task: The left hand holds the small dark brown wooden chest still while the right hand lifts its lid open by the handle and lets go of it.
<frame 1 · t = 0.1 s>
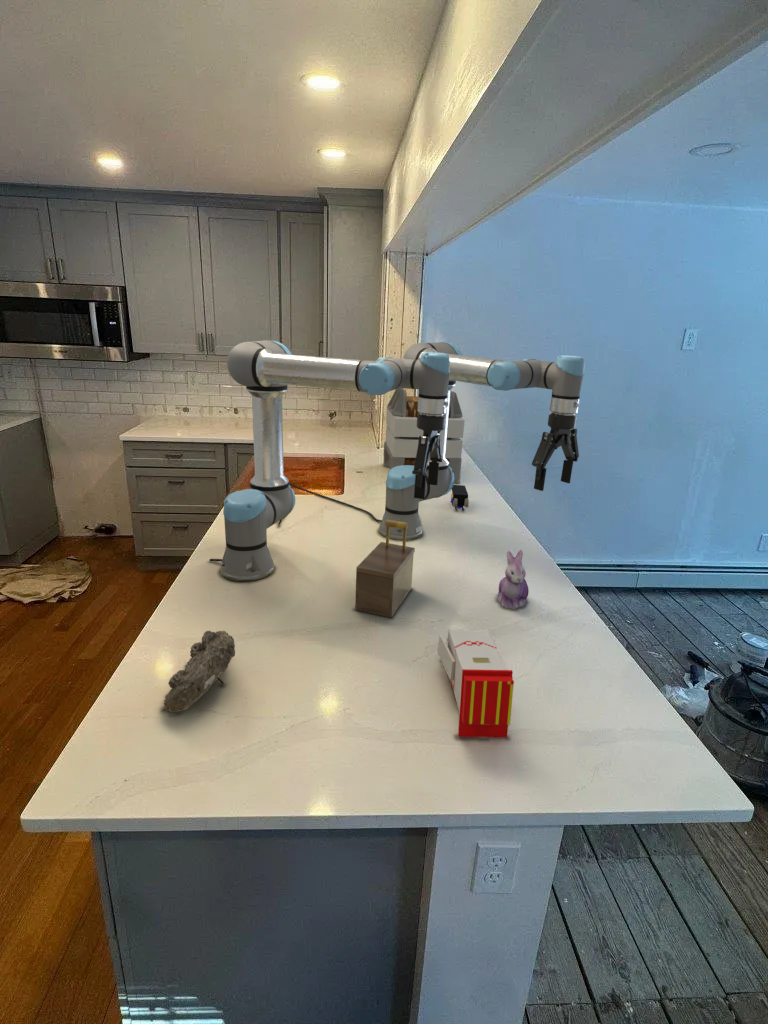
left hand: (426, 491, 155), 28 cm above the counter, tool pointing down, fingers open, 13 cm apart
right hand: (552, 485, 166), 28 cm above the counter, tool pointing down, fingers open, 13 cm apart
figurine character: (458, 507, 230), on the counter
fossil: (205, 682, 118), on the counter
toy: (469, 691, 119), on the counter
figurine: (512, 602, 156), on the counter
lid: (387, 545, 150), point 16 cm above the counter, hinge at 0.0°
chest: (384, 598, 155), on the counter
feather: (285, 514, 213), on the counter
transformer: (419, 473, 275), on the counter
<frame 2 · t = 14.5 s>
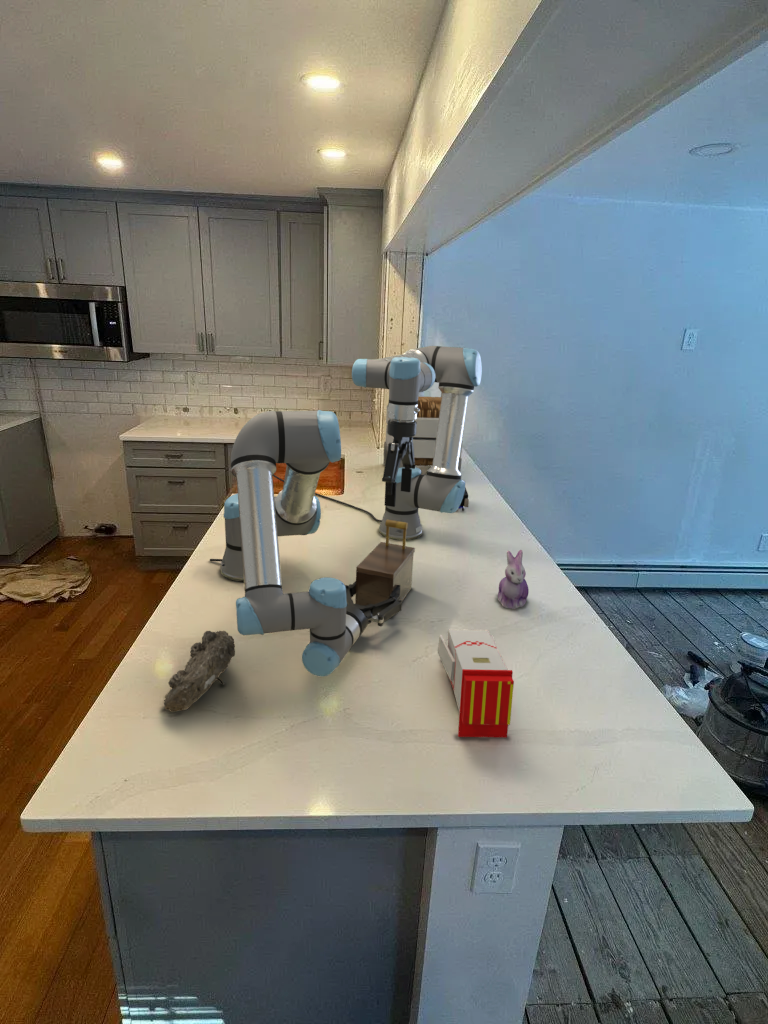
left hand: (379, 585, 149), 6 cm above the counter, tool horizontal, fingers closed on chest, 10 cm apart
right hand: (398, 498, 153), 27 cm above the counter, tool pointing down, fingers open, 13 cm apart
chest: (384, 598, 155), on the counter, touching left hand
everything else where it was.
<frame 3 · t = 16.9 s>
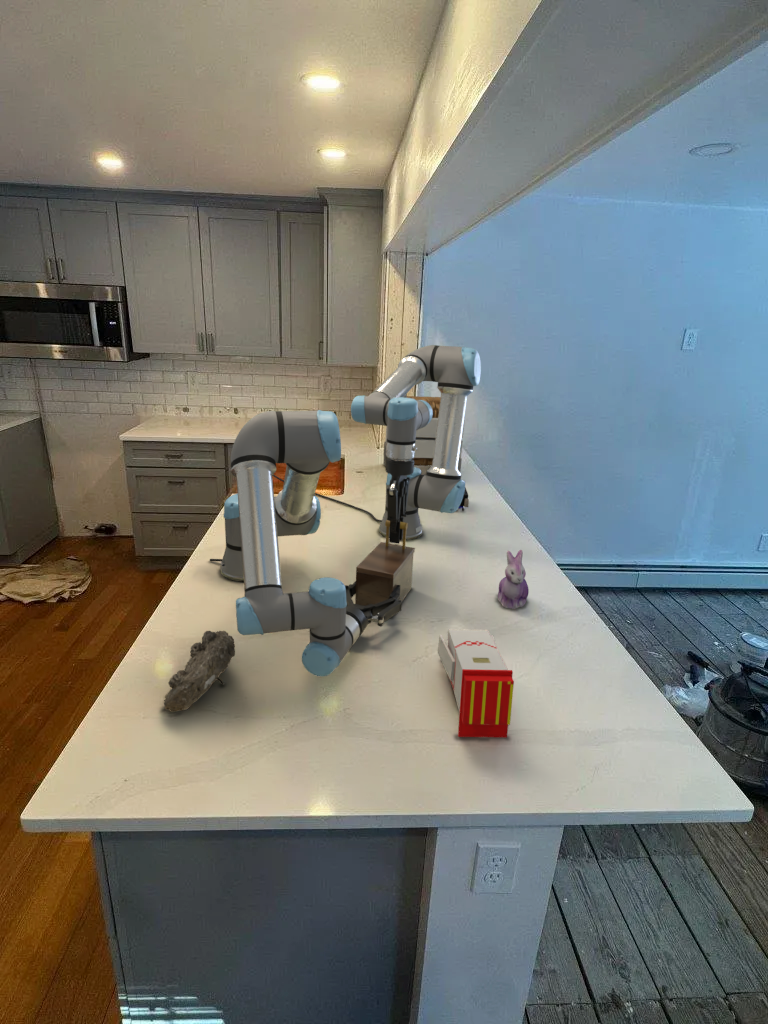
left hand: (379, 585, 149), 6 cm above the counter, tool horizontal, fingers closed on chest, 10 cm apart
right hand: (395, 540, 157), 14 cm above the counter, tool pointing down, fingers closed on lid, 2 cm apart
lid: (387, 545, 150), point 16 cm above the counter, hinge at -0.1°, touching right hand
chest: (384, 598, 155), on the counter, touching left hand
everything else where it was.
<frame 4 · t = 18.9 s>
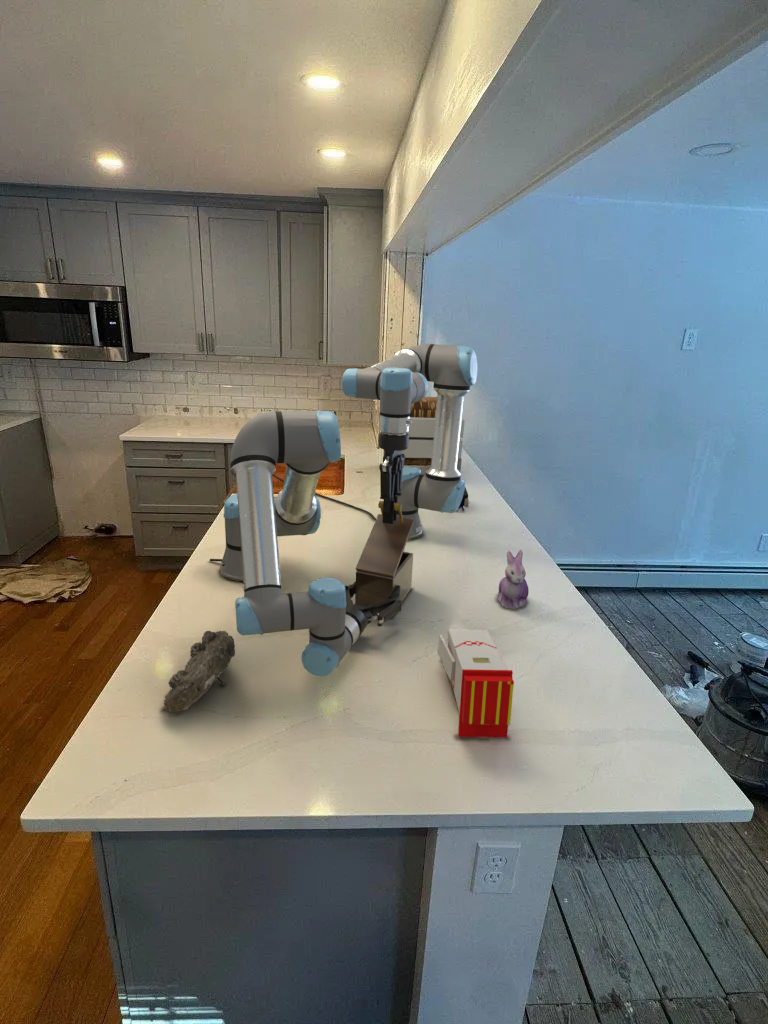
left hand: (379, 586, 148), 6 cm above the counter, tool horizontal, fingers closed on chest, 10 cm apart
right hand: (389, 521, 148), 22 cm above the counter, tool pointing down, fingers closed on lid, 2 cm apart
lid: (383, 535, 145), point 20 cm above the counter, hinge at 31.1°, touching right hand
chest: (384, 599, 155), on the counter, touching left hand
everything else where it was.
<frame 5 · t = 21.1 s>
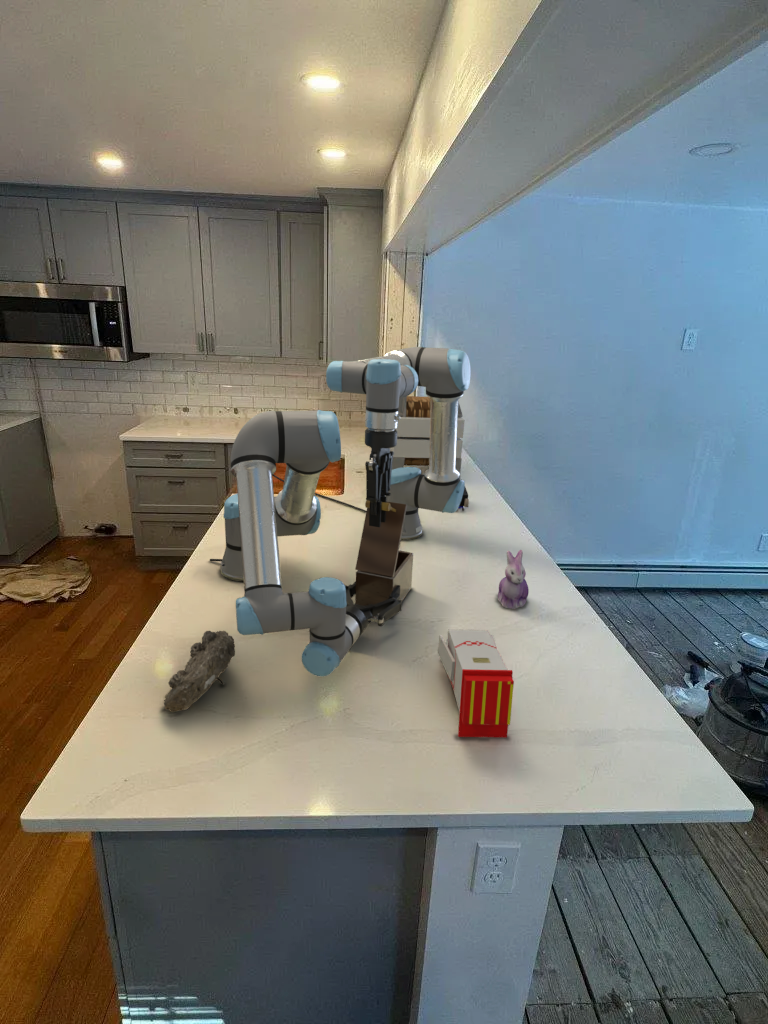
left hand: (379, 586, 149), 6 cm above the counter, tool horizontal, fingers closed on chest, 10 cm apart
right hand: (377, 523, 139), 25 cm above the counter, tool pointing down, fingers open, 3 cm apart
lid: (376, 535, 140), point 22 cm above the counter, hinge at 63.6°
chest: (384, 598, 155), on the counter, touching left hand
everything else where it was.
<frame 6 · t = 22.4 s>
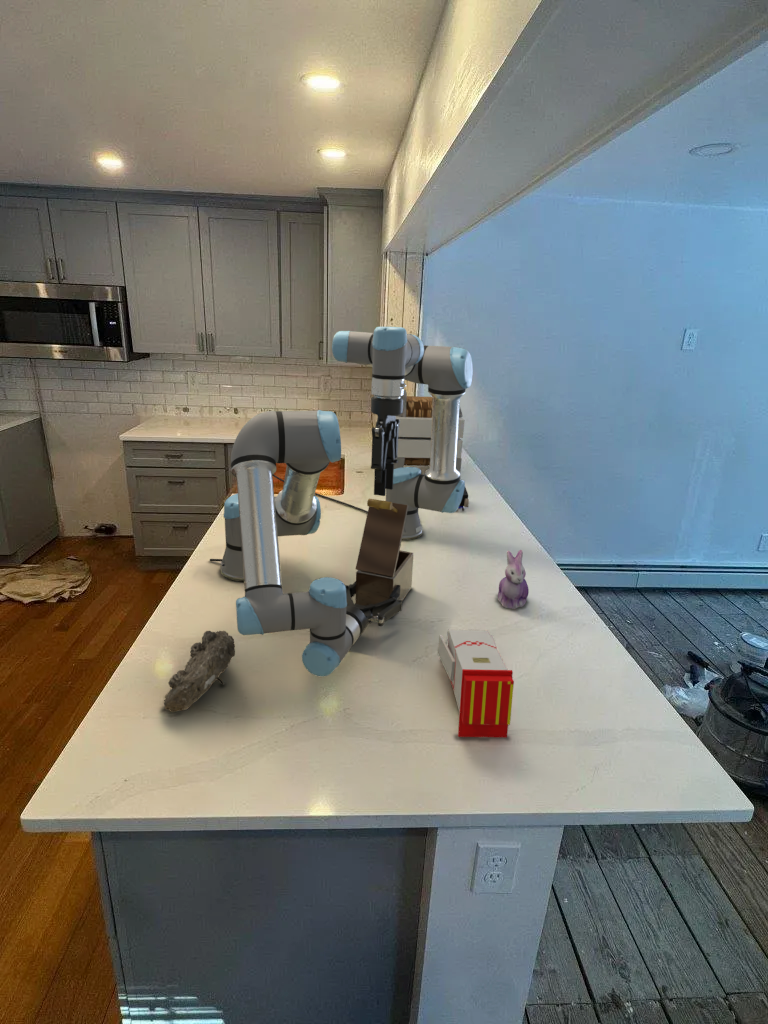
left hand: (379, 585, 149), 6 cm above the counter, tool horizontal, fingers closed on chest, 10 cm apart
right hand: (383, 491, 140), 32 cm above the counter, tool pointing down, fingers open, 5 cm apart
lid: (377, 535, 141), point 22 cm above the counter, hinge at 59.9°
chest: (384, 598, 155), on the counter, touching left hand
everything else where it was.
when the left hand's fingers open (6 cm above the counter, at t = 25.0 s): chest stays where it is, on the counter.
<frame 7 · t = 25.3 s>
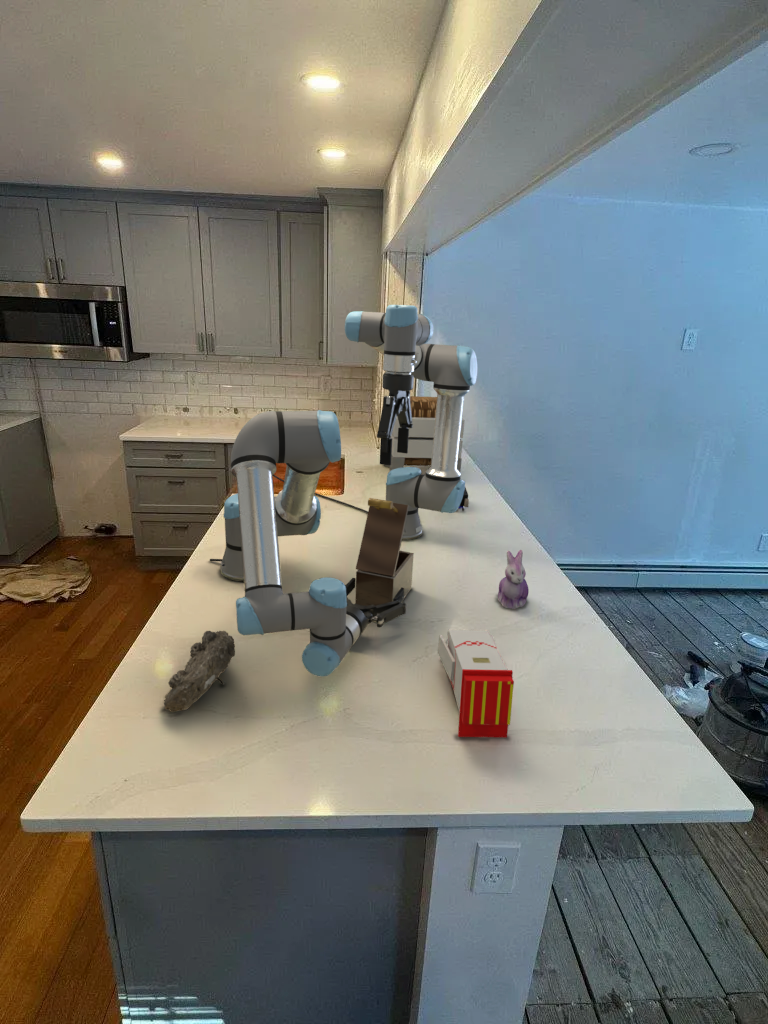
left hand: (377, 587, 148), 6 cm above the counter, tool horizontal, fingers open, 13 cm apart
right hand: (394, 458, 144), 39 cm above the counter, tool pointing down, fingers open, 13 cm apart
lid: (378, 534, 141), point 22 cm above the counter, hinge at 59.3°
chest: (384, 598, 155), on the counter
everything else where it was.
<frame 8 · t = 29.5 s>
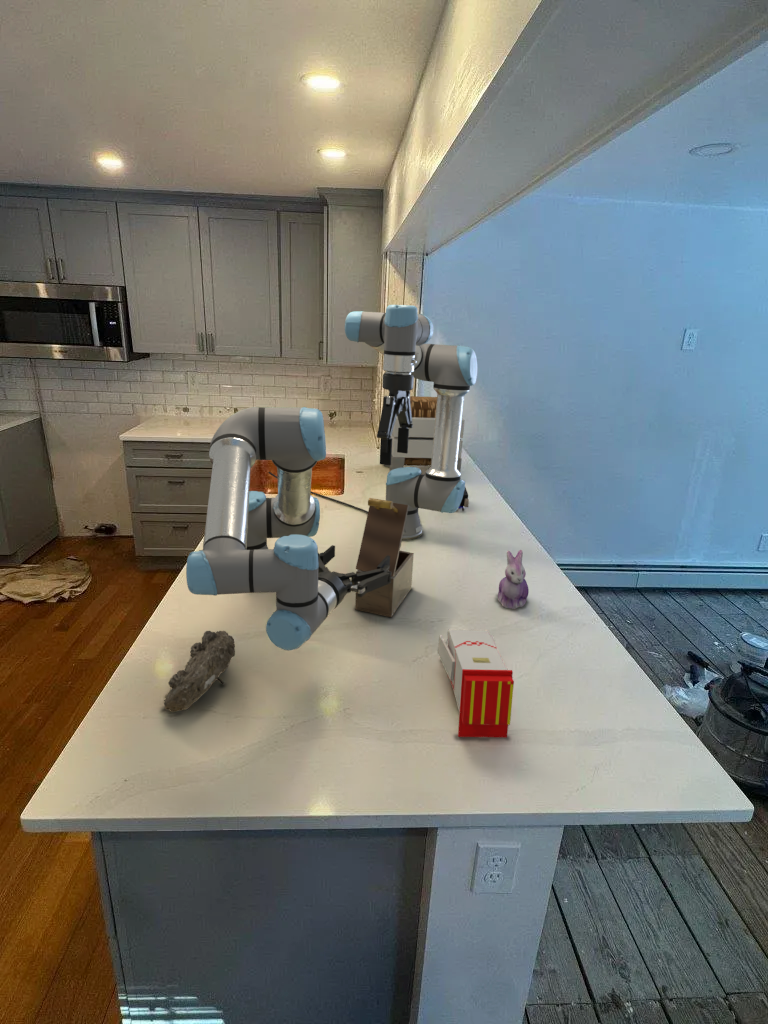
left hand: (360, 555, 131), 21 cm above the counter, tool horizontal, fingers open, 13 cm apart
right hand: (394, 458, 144), 39 cm above the counter, tool pointing down, fingers open, 13 cm apart
nothing on the counter moved.
at the end: lid at +59° (first picture: +0°); the left hand is holding nothing; the right hand is holding nothing; chest tilted 0°; chest never tilted more than 1° during the clip; chest moved 0.1 cm from its start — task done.
